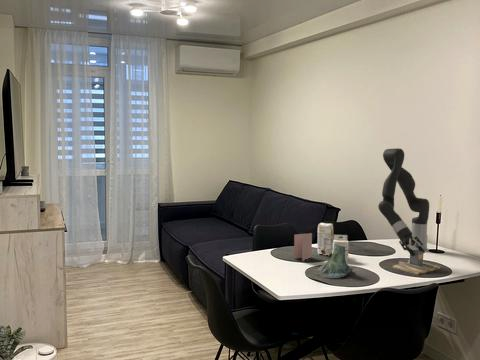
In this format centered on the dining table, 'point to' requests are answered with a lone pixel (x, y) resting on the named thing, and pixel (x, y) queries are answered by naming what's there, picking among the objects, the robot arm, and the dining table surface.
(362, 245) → the dining table surface
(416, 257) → the module
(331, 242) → the juice carton
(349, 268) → the tree stump
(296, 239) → the greeting card
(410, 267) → the rail board
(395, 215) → the robot arm
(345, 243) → the ink cartridge box
